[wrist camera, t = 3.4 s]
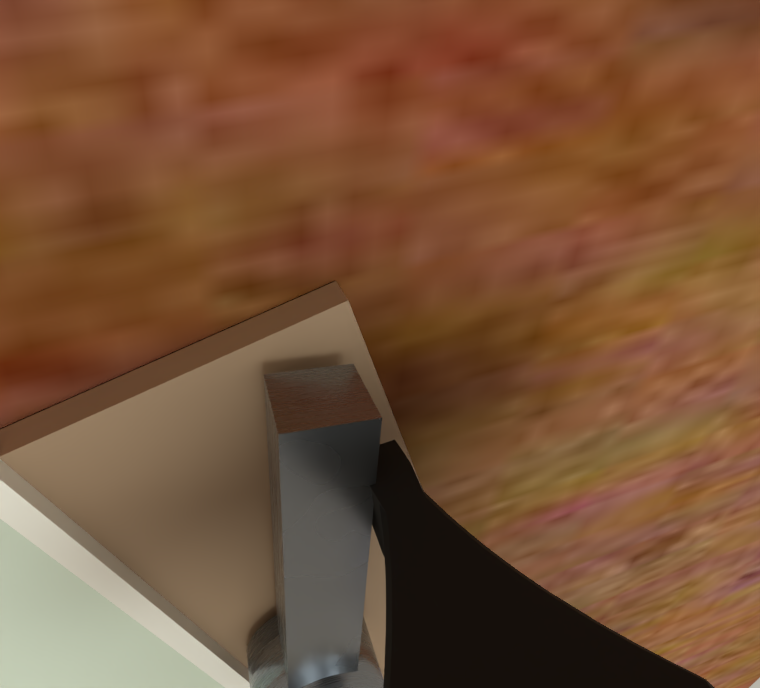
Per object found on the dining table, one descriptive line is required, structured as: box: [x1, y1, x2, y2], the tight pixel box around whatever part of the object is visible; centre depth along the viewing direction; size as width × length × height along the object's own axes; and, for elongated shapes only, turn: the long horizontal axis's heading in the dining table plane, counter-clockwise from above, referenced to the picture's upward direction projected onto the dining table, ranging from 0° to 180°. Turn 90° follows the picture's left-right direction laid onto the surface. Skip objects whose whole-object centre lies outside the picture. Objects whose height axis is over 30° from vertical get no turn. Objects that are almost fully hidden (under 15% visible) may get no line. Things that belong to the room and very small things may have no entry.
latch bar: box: [247, 364, 384, 688], centre depth 12 cm, size 12×4×3 cm, turn 176°
